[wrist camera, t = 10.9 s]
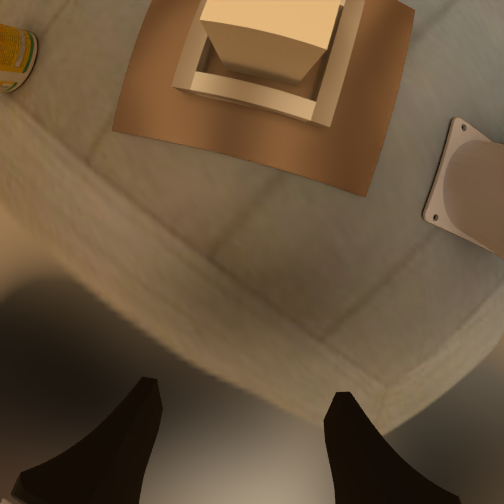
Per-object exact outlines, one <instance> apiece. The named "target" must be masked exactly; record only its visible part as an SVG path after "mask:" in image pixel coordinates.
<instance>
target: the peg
mask: <svg viewBox="0 0 504 504" xmlns="http://www.w3.org/2000/svg"><path fill="white" fill-rule="evenodd" d="M340 1H341V0H207V2H206V4H205V7H204V9H203V12H202V15H201V17H200V22H201V23H202V25H203V27H204V29H205V31H206V33H207V35H208V37H209V38H210V40H211V42H212V44H213V46H214V48H215V50H216V52H217V54H218V56H219V58H220V60H221V62H222V64H223V66H224V67H225V69H226V70H228V71H233V72H238V73H242V74H247V75H251V76H255V77H259V78H263V79H267V80H271V81H275V82H278V83H282V84H285V85H289V86H292V87H296V86H297V84H298V83H299V82H300V81H301V80H302V78H303V77H304V76H305V75H306V74H307V72H308V71H309V70H310V69H311V68H312V66H313V65H314V64H315V63H316V62H317V61H318V59H319V58H320V57H321V56H322V55H323V54H324V52H325V51H326V50H327V48H328V44H329V41H330V37H331V34H332V30H333V26H334V23H335V19H336V16H337V12H338V8H339V5H340Z"/></svg>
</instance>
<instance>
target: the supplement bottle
mask: <svg viewBox="0 0 504 504" xmlns="http://www.w3.org/2000/svg"><path fill="white" fill-rule="evenodd" d="M36 54H37V41H36V38H35V36H34V35H33V34H32V33H31V32H28V31H25V30H21V29H18V28H14V27H10V26H7V25H2V24H0V92H10V91H12V90H14V89H16V88H17V87H19V86H20V85H21V84H22V83H23V82H24V80H25V79H26V78H27V76H28V75H29V73H30V71H31V69H32V67H33V64H34V61H35V58H36Z"/></svg>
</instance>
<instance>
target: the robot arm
mask: <svg viewBox="0 0 504 504" xmlns="http://www.w3.org/2000/svg"><path fill="white" fill-rule="evenodd" d="M462 125H463V130H462V128H461V126H462ZM435 214H436V217H435V219H434V220H433V216H434V215H435ZM423 218H424V220H426V221H427V222H429V223H432V224H434V225H436V226H438V227H441V228H443V229H445V230H447V231H449V232H452V233H454V234H456V235H458V236H460V237H462V238H464V239H466V240H469V241H471V242H473V243H475V244H477V245H479V246H481V247H483V248H485V249H487V250H489V251H491V252H493V253H495V254H497V255H498V256H500V257H501V258H502V259H504V144H500V143H494V142H492V141H491V140H489V139H488V138H487V137H485V136H484V135H483V134H482V133H480V132H479V131H478V130H476V129H475V128H473V127H472V126H471V125H469V124H468V123H466V122H465V121H464V120H462V119H461V118H459V117H455V118H453V119H452V122H451V126H450V130H449V134H448V137H447V141H446V145H445V148H444V152H443V155H442V158H441V162H440V165H439V168H438V171H437V174H436V178H435V181H434V184H433V186H432V189H431V192H430V195H429V198H428V201H427V203H426V206H425V209H424V211H423ZM162 411H163V407H162V402H161V397H160V393H159V388H158V382H157V379H153V378H147V377H142V378H141V379H140V380H139V381H138V382H137V384H136V385H135V386H134V387H133V389H132V390H131V391H130V392H129V393H128V395H127V396H126V397H125V398H124V399H123V400H122V401H121V403H120V404H119V405H118V406H117V407H116V408H115V409H114V410H113V411H112V412H111V414H110V415H108V416H107V417H106V419H104V421H102V422H101V423H100V424H99V425H98V426H97V427H96V428H95V429H94V430H93V431H92V432H90V433H89V434H88V435H87V436H85V437H84V438H83V439H82V440H80V441H79V442H78V443H76V444H75V445H73V446H72V447H70V448H69V449H68V450H66V451H64V452H63V453H61V454H59V455H58V456H56V457H54V458H52V459H50V460H48V461H47V462H45V463H43V464H40V465H38V466H35V467H33V468H31V469H28V470H26V471H23V472H21V473H20V475H19V476H18V478H17V481H16V483H15V485H14V487H13V490H12V492H11V496H12V497H13V498H14V499H15V500H17V501H18V502H19V503H21V504H139V499H140V493H141V487H142V482H143V477H144V473H145V470H146V467H147V464H148V460H149V457H150V455H151V452H152V448H153V445H154V442H155V439H156V436H157V433H158V430H159V426H160V421H161V416H162ZM324 433H325V443H326V448H327V453H328V458H329V463H330V467H331V472H332V477H333V482H334V489H335V503H336V504H461V501H460V499H459V497H458V496H456V495H454V494H452V493H450V492H448V491H446V490H444V489H442V488H441V487H439V486H437V485H436V484H434V483H433V482H431V481H429V480H428V479H427V478H425V477H424V476H423V475H421V474H420V473H419V472H417V471H416V470H415V469H413V468H412V467H411V466H410V465H409V464H408V463H407V462H406V461H405V460H403V459H402V458H401V457H400V456H399V455H398V454H397V453H396V452H395V451H394V449H393V448H392V447H391V446H390V445H389V444H388V443H387V442H386V440H385V439H384V438H383V437H382V436H381V434H380V433H379V432H378V430H377V429H376V428H375V426H374V425H373V424H372V423H371V421H370V420H369V418H368V417H367V416H366V414H365V413H364V411H363V410H362V408H361V407H360V406H359V404H358V403H357V401H356V400H355V398H354V397H353V395H352V394H351V393H350V392H336V394H335V396H334V398H333V400H332V403H331V405H330V407H329V409H328V412H327V414H326V416H325V418H324ZM1 504H12V503H10V502H9V501H7V500H5V499H3V500H2V502H1Z"/></svg>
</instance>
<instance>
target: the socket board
mask: <svg viewBox="0 0 504 504" xmlns="http://www.w3.org/2000/svg"><path fill="white" fill-rule="evenodd" d="M206 2H207V0H152V2H151V4H150V6H149V9H148V11H147V14H146V16H145V19H144V21H143V24H142V27H141V29H140V32H139V35H138V38H137V41H136V43H135V46H134V49H133V52H132V55H131V59H130V62H129V65H128V68H127V72H126V75H125V79H124V82H123V86H122V90H121V93H120V97H119V101H118V105H117V109H116V114H115V118H114V123H113V127H112V131H114V132H120V133H126V134H132V135H138V136H143V137H149V138H154V139H159V140H164V141H169V142H174V143H179V144H183V145H188V146H192V147H197V148H201V149H205V150H210V151H214V152H218V153H222V154H226V155H230V156H234V157H238V158H242V159H245V160H249V161H253V162H256V163H260V164H264V165H267V166H271V167H274V168H277V169H281V170H284V171H288V172H291V173H294V174H297V175H301V176H304V177H307V178H310V179H313V180H316V181H319V182H322V183H325V184H328V185H331V186H334V187H337V188H340V189H343V190H346V191H349V192H352V193H354V194H357V195H360V196H363V197H366V194H367V191H368V188H369V185H370V182H371V179H372V176H373V173H374V170H375V167H376V164H377V161H378V158H379V155H380V152H381V149H382V146H383V142H384V139H385V136H386V132H387V129H388V126H389V122H390V119H391V115H392V111H393V108H394V104H395V100H396V97H397V93H398V89H399V85H400V81H401V77H402V72H403V68H404V64H405V59H406V55H407V50H408V45H409V40H410V35H411V30H412V25H413V19H414V13H415V10H414V9H412V8H410V7H408V6H406V5H405V4H403V3H401V2H399V1H397V0H341V1H340V5H339V8H338V12H337V16H336V19H335V23H334V26H333V30H332V34H331V37H330V41H329V44H328V48H327V50H326V51H325V52H324V54H323V55H322V56H321V57H320V58H319V59H318V61H317V62H316V63H315V64H314V65H313V66H312V68H311V69H310V70H309V71H308V72H307V74H306V75H305V76H304V77H303V78H302V80H301V81H300V82H299V83H298V84H297V86H296V87H292V86H289V85H285V84H282V83H278V82H275V81H271V80H267V79H263V78H259V77H255V76H251V75H247V74H242V73H238V72H233V71H228V70H226V69H225V67H224V66H223V64H222V62H221V60H220V58H219V56H218V54H217V52H216V50H215V48H214V46H213V44H212V42H211V40H210V38H209V37H208V35H207V33H206V31H205V29H204V27H203V25H202V23H201V22H200V17H201V15H202V12H203V9H204V7H205V4H206Z"/></svg>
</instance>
